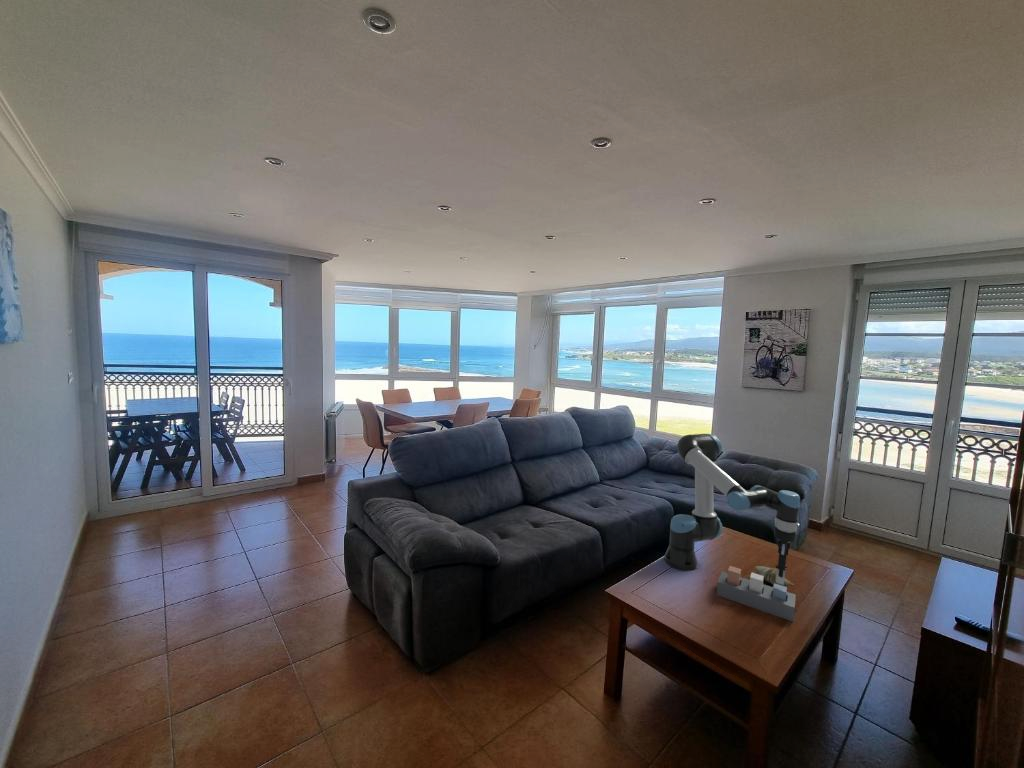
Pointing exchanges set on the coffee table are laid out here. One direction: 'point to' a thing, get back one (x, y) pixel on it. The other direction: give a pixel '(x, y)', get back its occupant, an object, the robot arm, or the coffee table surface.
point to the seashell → (770, 575)
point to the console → (757, 597)
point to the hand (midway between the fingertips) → (779, 582)
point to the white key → (756, 582)
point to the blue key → (779, 592)
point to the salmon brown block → (734, 575)
